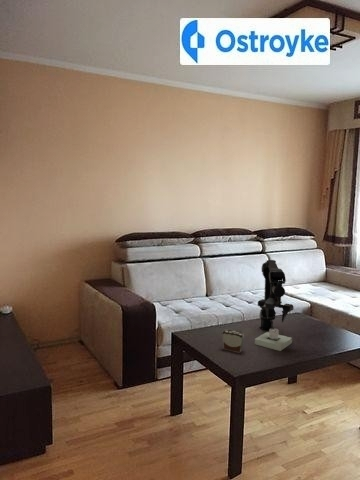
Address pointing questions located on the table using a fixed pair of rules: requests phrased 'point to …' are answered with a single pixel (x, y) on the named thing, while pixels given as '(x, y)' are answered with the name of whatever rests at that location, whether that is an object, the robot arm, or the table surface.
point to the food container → (232, 340)
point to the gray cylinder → (273, 334)
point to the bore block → (273, 342)
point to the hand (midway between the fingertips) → (274, 320)
